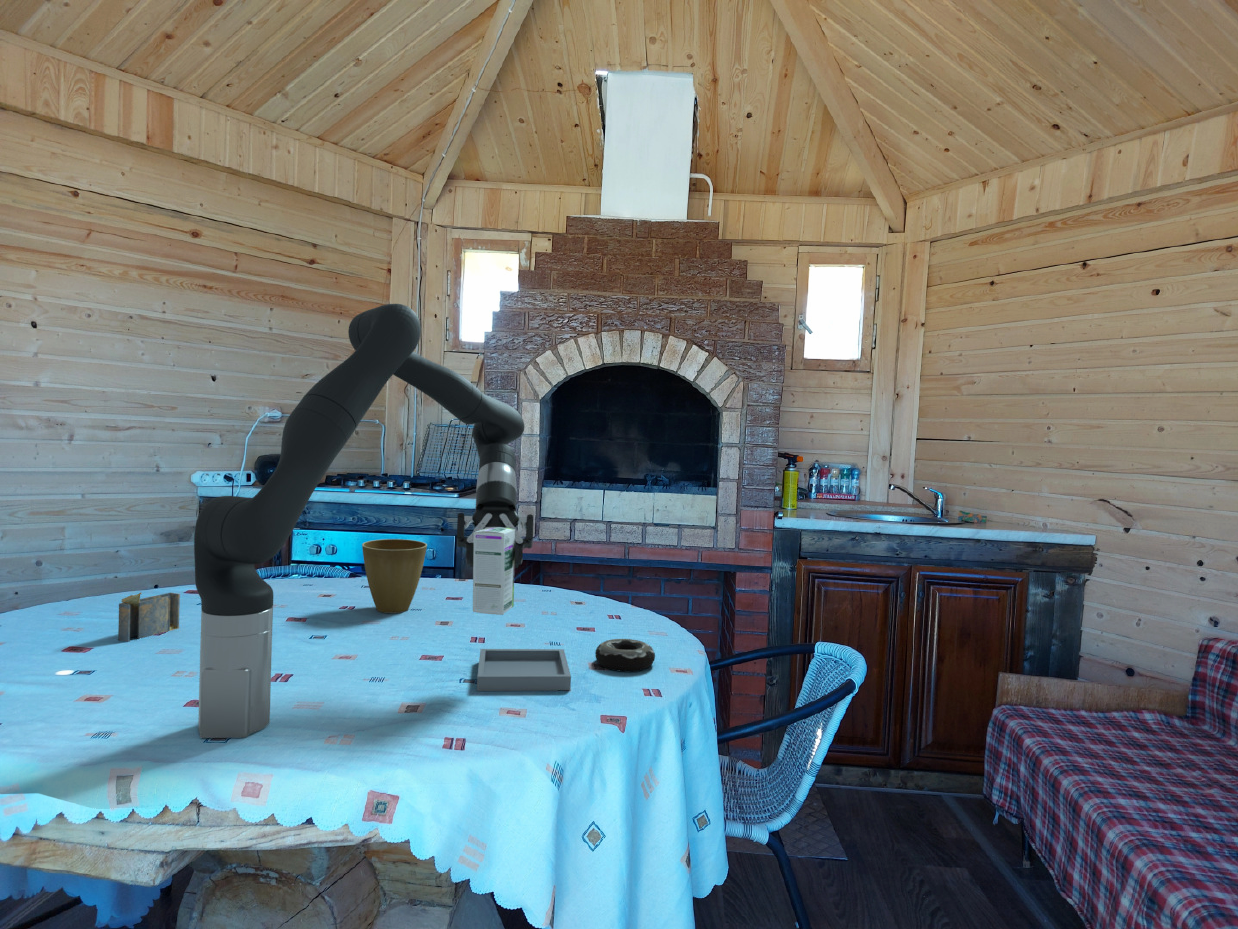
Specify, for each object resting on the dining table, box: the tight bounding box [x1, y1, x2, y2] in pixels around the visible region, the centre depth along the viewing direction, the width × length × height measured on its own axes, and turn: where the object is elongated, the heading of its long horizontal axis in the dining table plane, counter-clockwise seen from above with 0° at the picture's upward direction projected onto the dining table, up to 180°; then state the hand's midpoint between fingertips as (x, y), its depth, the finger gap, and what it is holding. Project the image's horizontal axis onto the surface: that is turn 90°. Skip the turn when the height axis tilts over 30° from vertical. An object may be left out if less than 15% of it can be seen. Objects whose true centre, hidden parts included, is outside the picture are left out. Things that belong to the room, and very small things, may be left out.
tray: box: [476, 648, 572, 692], centre depth 136 cm, size 16×16×2 cm
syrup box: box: [472, 527, 515, 616], centre depth 132 cm, size 6×6×14 cm
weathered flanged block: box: [117, 592, 181, 643], centre depth 150 cm, size 11×3×10 cm, turn 162°
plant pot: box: [361, 538, 428, 614], centre depth 178 cm, size 15×15×16 cm
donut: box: [595, 638, 656, 672], centre depth 146 cm, size 12×12×4 cm
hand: (494, 564), depth 130 cm, fingers closed on syrup box, 7 cm apart
